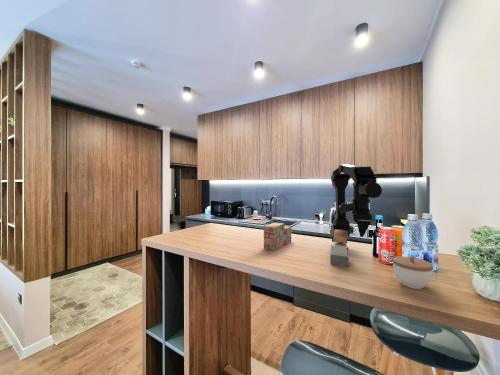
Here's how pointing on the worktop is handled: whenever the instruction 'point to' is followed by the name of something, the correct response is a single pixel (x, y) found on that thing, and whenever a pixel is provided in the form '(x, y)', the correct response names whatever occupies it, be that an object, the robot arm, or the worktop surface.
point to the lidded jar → (412, 271)
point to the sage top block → (339, 249)
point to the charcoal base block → (339, 260)
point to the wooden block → (340, 236)
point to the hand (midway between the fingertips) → (360, 234)
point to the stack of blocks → (276, 236)
